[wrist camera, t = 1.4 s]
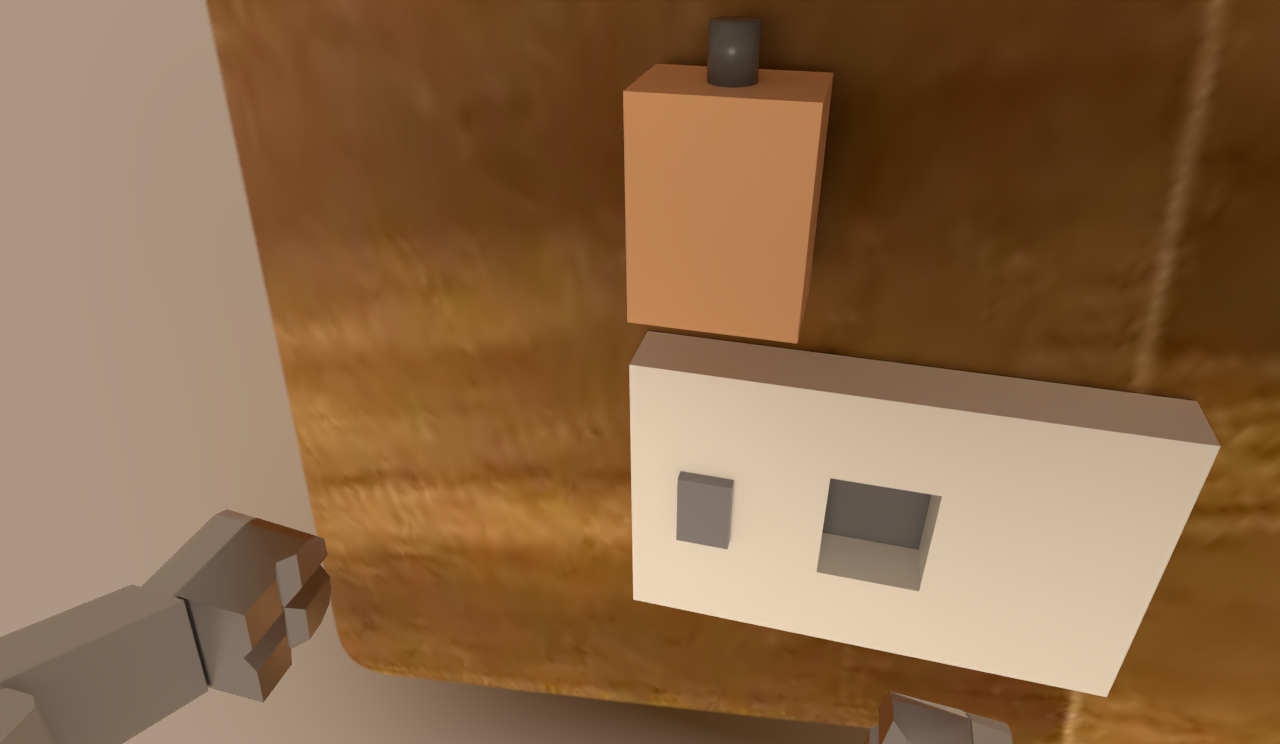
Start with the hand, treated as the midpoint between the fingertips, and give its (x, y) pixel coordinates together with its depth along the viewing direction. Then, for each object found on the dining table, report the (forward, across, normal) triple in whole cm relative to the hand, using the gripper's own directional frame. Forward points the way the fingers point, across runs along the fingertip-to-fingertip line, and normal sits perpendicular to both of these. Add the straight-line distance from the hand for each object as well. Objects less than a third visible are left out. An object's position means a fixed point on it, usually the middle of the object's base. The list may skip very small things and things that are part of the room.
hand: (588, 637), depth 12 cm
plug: (+24, +1, +1) cm, 24 cm away
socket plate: (+24, -8, +15) cm, 29 cm away
